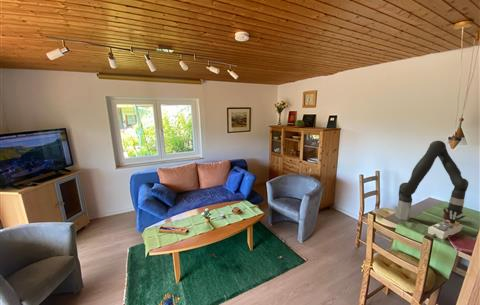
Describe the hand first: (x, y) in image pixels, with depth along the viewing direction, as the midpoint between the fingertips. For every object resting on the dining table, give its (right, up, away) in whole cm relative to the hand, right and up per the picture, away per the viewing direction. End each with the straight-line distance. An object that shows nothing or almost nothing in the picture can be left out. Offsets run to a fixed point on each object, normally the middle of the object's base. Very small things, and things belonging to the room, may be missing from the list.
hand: (451, 223), depth 156 cm
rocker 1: (-13, -2, -5) cm, 14 cm away
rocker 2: (-5, -1, -2) cm, 5 cm away
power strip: (-7, -8, 0) cm, 10 cm away
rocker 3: (+3, 0, +1) cm, 3 cm away
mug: (+19, -4, +18) cm, 26 cm away
